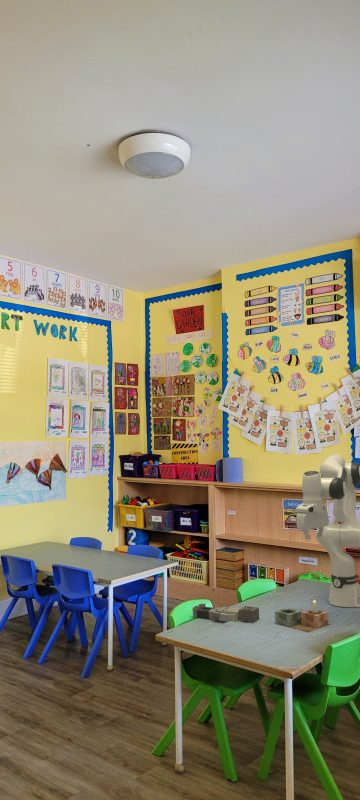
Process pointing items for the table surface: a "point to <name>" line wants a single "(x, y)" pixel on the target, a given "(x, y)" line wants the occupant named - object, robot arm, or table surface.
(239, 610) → the toy figure
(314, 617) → the dock board
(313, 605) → the metal pin
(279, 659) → the table surface
